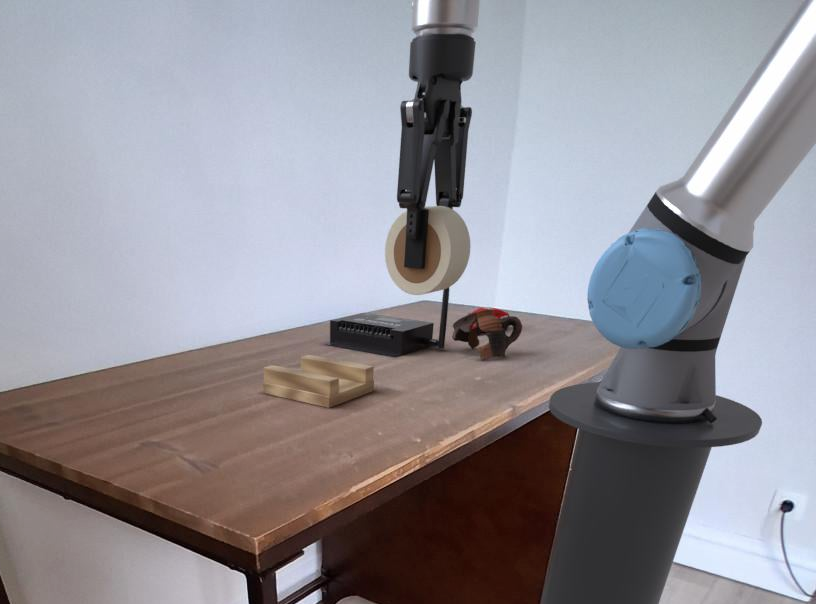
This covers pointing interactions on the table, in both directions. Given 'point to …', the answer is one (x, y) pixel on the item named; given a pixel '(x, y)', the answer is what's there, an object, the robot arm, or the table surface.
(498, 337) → the pottery mug
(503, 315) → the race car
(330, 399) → the tape holder
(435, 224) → the tape roll
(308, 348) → the table surface
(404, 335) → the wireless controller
